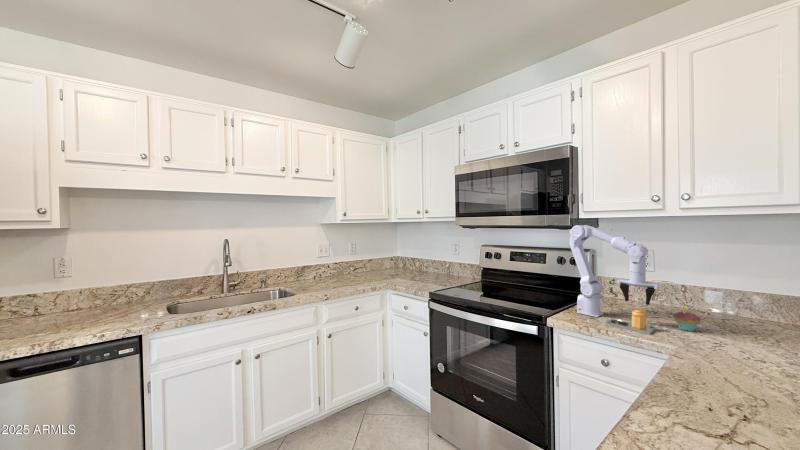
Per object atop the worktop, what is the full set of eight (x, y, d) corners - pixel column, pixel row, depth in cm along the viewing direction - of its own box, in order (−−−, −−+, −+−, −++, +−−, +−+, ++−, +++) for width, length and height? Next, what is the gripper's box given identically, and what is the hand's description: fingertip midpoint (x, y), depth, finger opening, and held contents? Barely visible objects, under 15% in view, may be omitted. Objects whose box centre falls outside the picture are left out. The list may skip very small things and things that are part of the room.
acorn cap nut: (630, 326, 136) (630, 310, 136) (634, 323, 139) (634, 308, 139) (643, 328, 132) (643, 313, 132) (647, 326, 135) (647, 311, 135)
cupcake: (690, 333, 129) (690, 304, 129) (667, 327, 137) (668, 299, 137) (705, 331, 131) (705, 302, 131) (682, 325, 140) (682, 297, 139)
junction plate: (605, 324, 141) (605, 315, 141) (612, 320, 147) (612, 311, 147) (650, 334, 129) (650, 324, 129) (656, 329, 134) (656, 320, 134)
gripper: (660, 273, 137) (660, 304, 137) (621, 268, 148) (621, 297, 149) (655, 275, 132) (655, 307, 133) (615, 270, 144) (615, 300, 144)
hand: (637, 302), depth 140 cm, fingers open, 7 cm apart
